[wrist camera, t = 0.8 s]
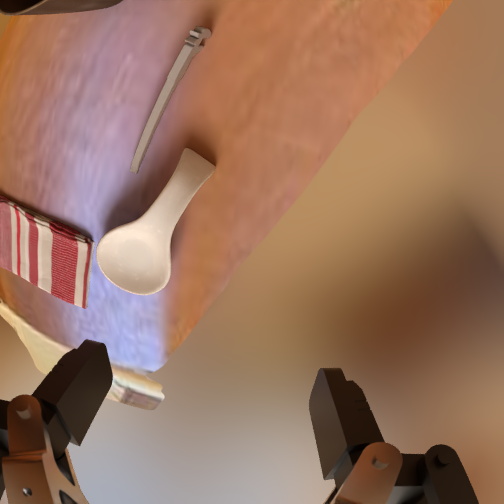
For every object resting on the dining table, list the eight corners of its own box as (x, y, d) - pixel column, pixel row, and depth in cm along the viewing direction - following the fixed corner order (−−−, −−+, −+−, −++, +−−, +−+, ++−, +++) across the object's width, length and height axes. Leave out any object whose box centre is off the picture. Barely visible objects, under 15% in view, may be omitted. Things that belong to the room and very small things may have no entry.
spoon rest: (155, 292, 44) (145, 323, 38) (96, 258, 40) (78, 284, 34) (238, 179, 35) (237, 199, 29) (163, 129, 31) (144, 138, 25)
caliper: (204, 32, 24) (197, 19, 19) (212, 35, 25) (206, 22, 19) (131, 169, 33) (112, 184, 28) (138, 173, 34) (120, 188, 28)
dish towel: (0, 191, 32) (-9, 197, 30) (97, 236, 38) (90, 244, 36) (4, 262, 40) (-3, 269, 38) (88, 306, 46) (83, 315, 44)
